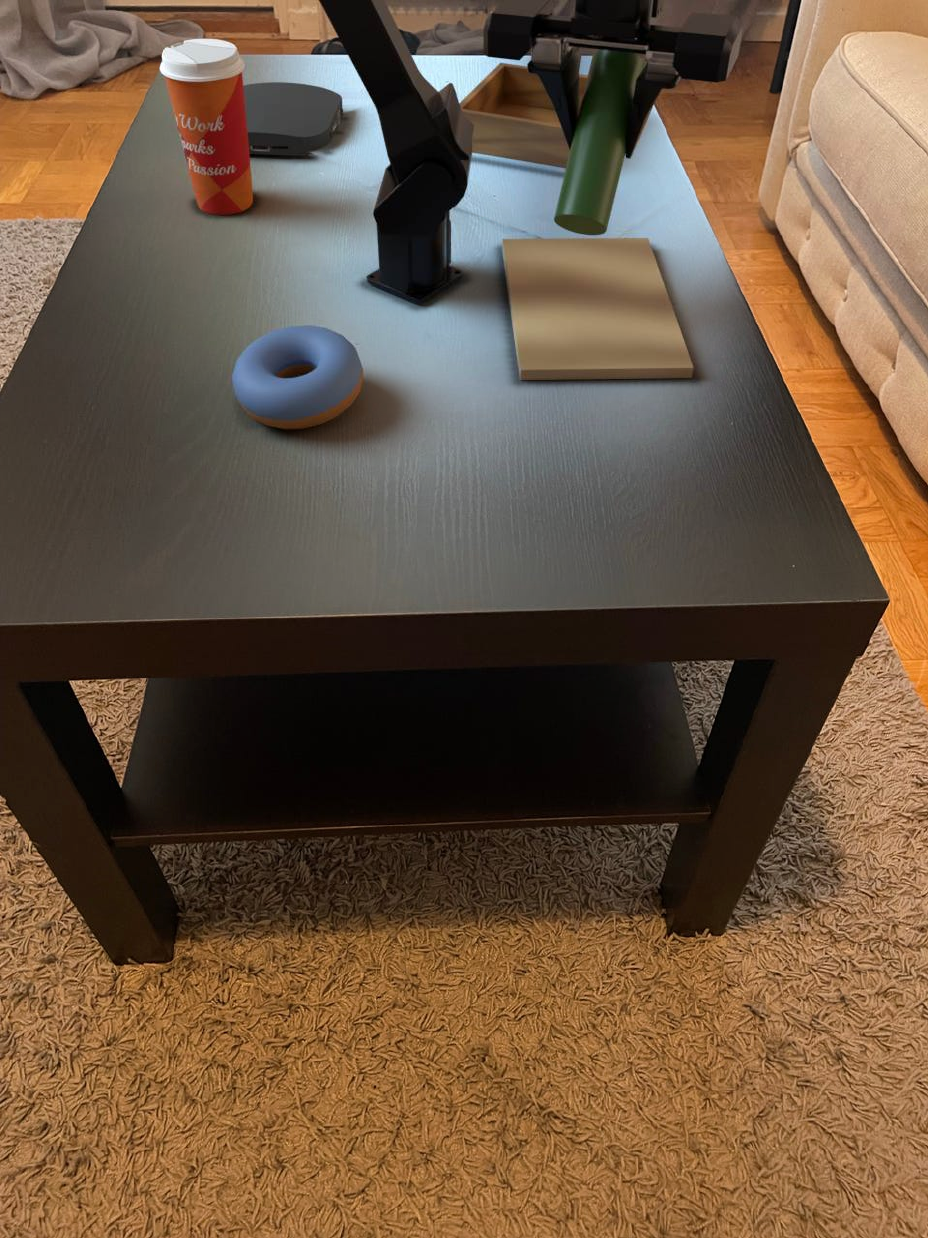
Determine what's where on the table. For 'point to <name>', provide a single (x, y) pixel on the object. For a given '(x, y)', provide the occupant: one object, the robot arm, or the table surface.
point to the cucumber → (598, 143)
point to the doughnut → (304, 398)
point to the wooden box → (516, 117)
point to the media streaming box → (290, 117)
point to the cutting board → (591, 310)
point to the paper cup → (211, 121)
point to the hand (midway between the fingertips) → (601, 152)
